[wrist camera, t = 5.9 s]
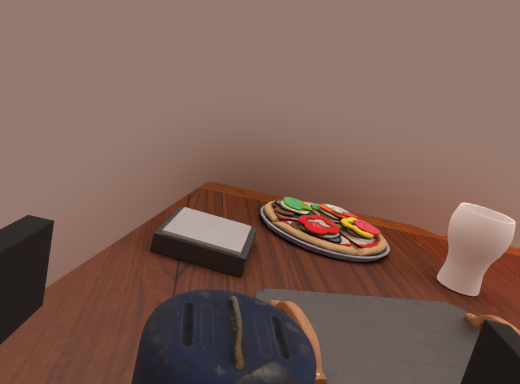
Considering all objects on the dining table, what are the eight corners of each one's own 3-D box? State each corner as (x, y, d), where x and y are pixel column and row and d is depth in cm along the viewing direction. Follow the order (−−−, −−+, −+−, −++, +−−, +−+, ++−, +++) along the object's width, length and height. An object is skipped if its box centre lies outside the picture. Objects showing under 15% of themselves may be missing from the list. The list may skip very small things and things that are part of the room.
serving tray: (459, 318, 73) (473, 284, 71) (597, 437, 52) (622, 392, 51) (228, 304, 59) (239, 261, 58) (290, 456, 39) (311, 396, 37)
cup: (462, 302, 80) (495, 223, 76) (417, 271, 88) (445, 199, 84) (498, 300, 85) (531, 226, 81) (452, 271, 94) (480, 203, 90)
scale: (150, 251, 68) (154, 228, 67) (177, 221, 82) (181, 202, 81) (240, 277, 67) (246, 255, 66) (253, 243, 81) (258, 224, 80)
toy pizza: (303, 262, 78) (310, 239, 77) (238, 202, 101) (243, 183, 100) (416, 264, 92) (423, 244, 91) (336, 210, 115) (341, 194, 114)
